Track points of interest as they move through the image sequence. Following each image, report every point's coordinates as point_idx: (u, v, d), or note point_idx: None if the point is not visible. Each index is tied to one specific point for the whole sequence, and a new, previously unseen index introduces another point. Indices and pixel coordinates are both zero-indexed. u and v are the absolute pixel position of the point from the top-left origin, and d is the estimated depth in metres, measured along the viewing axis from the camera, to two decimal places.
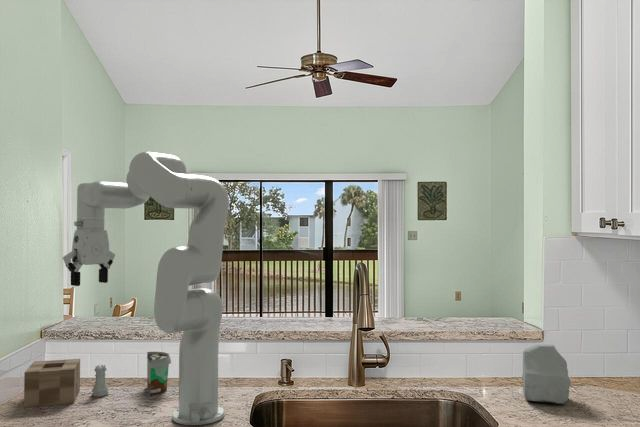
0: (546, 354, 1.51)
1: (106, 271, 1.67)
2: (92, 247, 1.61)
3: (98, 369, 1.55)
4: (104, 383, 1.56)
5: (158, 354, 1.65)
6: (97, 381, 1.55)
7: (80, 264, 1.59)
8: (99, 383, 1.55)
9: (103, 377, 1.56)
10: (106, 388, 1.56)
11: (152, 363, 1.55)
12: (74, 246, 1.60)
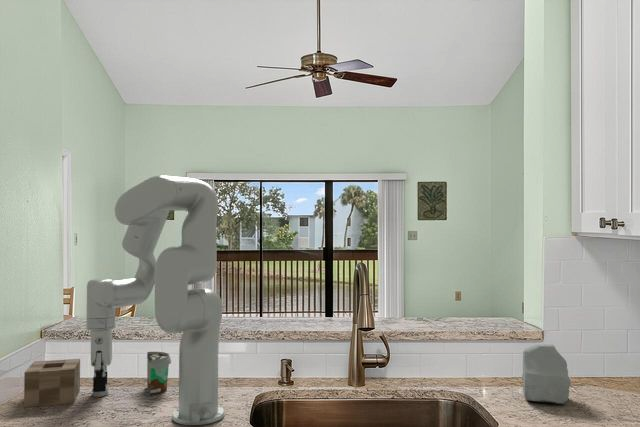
0: (546, 354, 1.51)
1: None
2: None
3: None
4: None
5: (158, 354, 1.65)
6: None
7: (104, 367, 1.54)
8: None
9: None
10: (106, 388, 1.56)
11: (152, 363, 1.55)
12: (97, 348, 1.52)
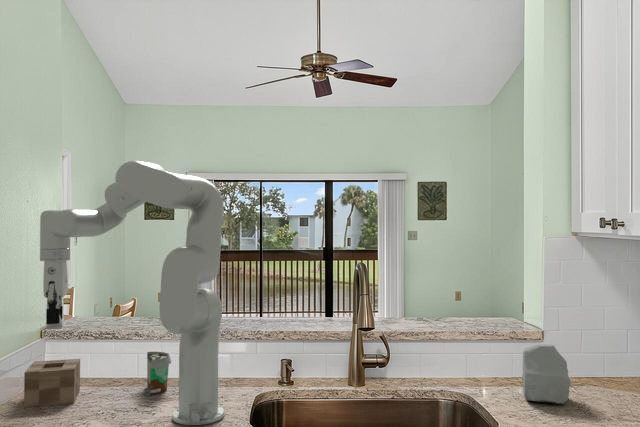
0: (546, 354, 1.51)
1: (62, 308, 1.56)
2: (65, 278, 1.53)
3: None
4: None
5: (158, 354, 1.65)
6: None
7: (58, 299, 1.51)
8: None
9: None
10: (60, 321, 1.53)
11: (152, 363, 1.55)
12: (49, 279, 1.49)
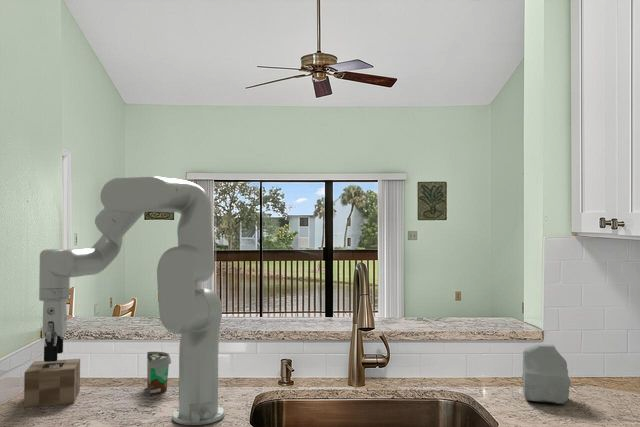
0: (546, 354, 1.51)
1: (62, 341, 1.58)
2: (64, 317, 1.53)
3: None
4: None
5: (158, 354, 1.65)
6: None
7: (56, 337, 1.50)
8: None
9: None
10: None
11: (152, 363, 1.55)
12: (49, 319, 1.49)
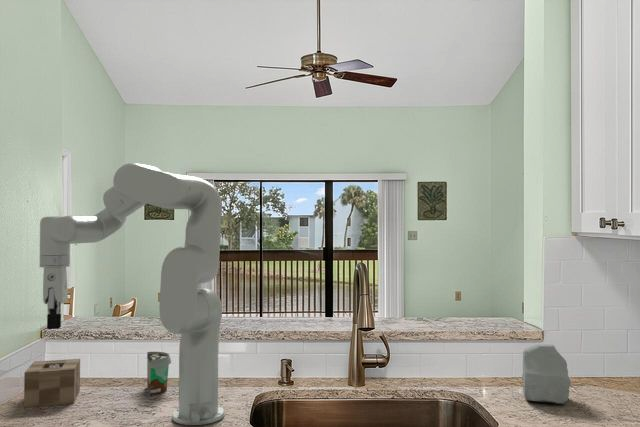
0: (546, 354, 1.51)
1: (60, 316, 1.54)
2: (64, 284, 1.53)
3: None
4: None
5: (158, 354, 1.65)
6: None
7: (58, 305, 1.53)
8: None
9: None
10: None
11: (152, 363, 1.55)
12: (49, 285, 1.49)
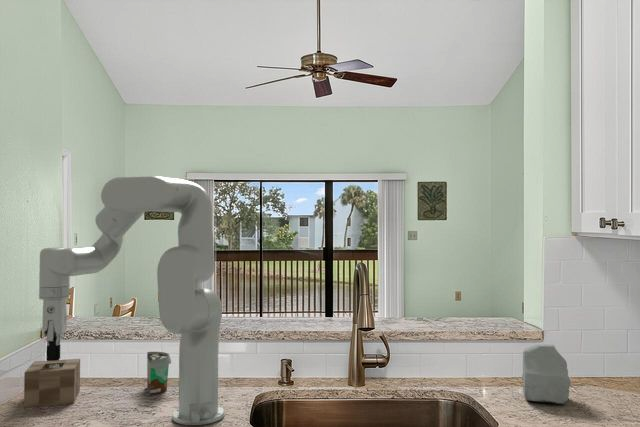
0: (546, 354, 1.51)
1: None
2: (64, 316, 1.53)
3: None
4: None
5: (158, 354, 1.65)
6: None
7: (58, 337, 1.52)
8: None
9: None
10: None
11: (152, 363, 1.55)
12: (49, 317, 1.49)
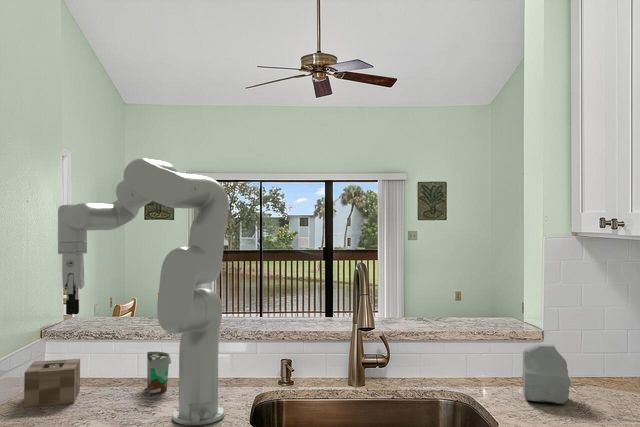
0: (546, 354, 1.51)
1: (78, 301, 1.58)
2: (82, 270, 1.57)
3: None
4: None
5: (158, 354, 1.65)
6: None
7: (77, 291, 1.56)
8: None
9: None
10: None
11: (152, 363, 1.55)
12: (68, 271, 1.53)
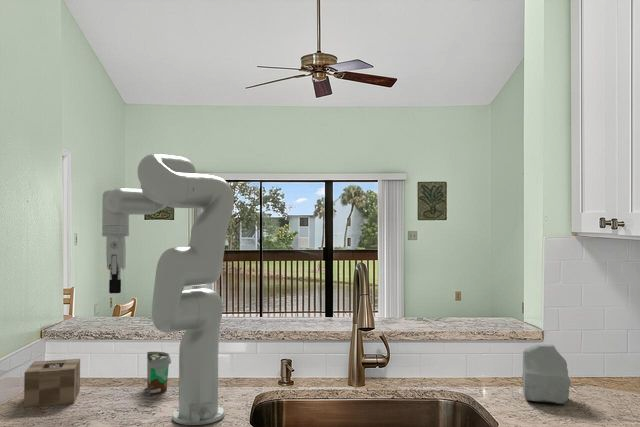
0: (546, 354, 1.51)
1: (120, 281, 1.68)
2: None
3: None
4: None
5: (158, 354, 1.65)
6: None
7: (119, 271, 1.67)
8: None
9: None
10: None
11: (152, 363, 1.55)
12: (112, 252, 1.63)
